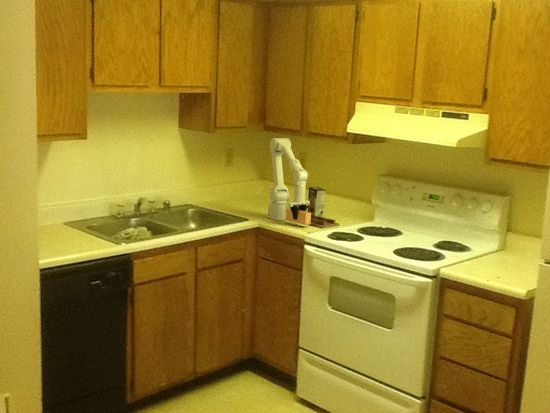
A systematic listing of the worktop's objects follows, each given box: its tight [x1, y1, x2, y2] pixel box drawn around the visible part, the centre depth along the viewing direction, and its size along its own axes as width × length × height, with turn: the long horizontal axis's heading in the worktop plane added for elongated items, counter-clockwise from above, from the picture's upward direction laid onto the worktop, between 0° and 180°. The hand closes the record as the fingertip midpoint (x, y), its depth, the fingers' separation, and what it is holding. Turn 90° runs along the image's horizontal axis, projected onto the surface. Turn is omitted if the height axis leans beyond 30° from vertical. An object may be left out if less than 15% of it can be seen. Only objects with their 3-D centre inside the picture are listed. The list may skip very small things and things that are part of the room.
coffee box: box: [306, 186, 327, 218], centre depth 400 cm, size 9×6×16 cm
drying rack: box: [307, 215, 341, 229], centre depth 382 cm, size 22×14×3 cm, turn 46°
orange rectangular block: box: [285, 208, 311, 226], centre depth 373 cm, size 14×4×6 cm, turn 46°
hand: (298, 219), depth 373 cm, fingers closed on orange rectangular block, 4 cm apart
